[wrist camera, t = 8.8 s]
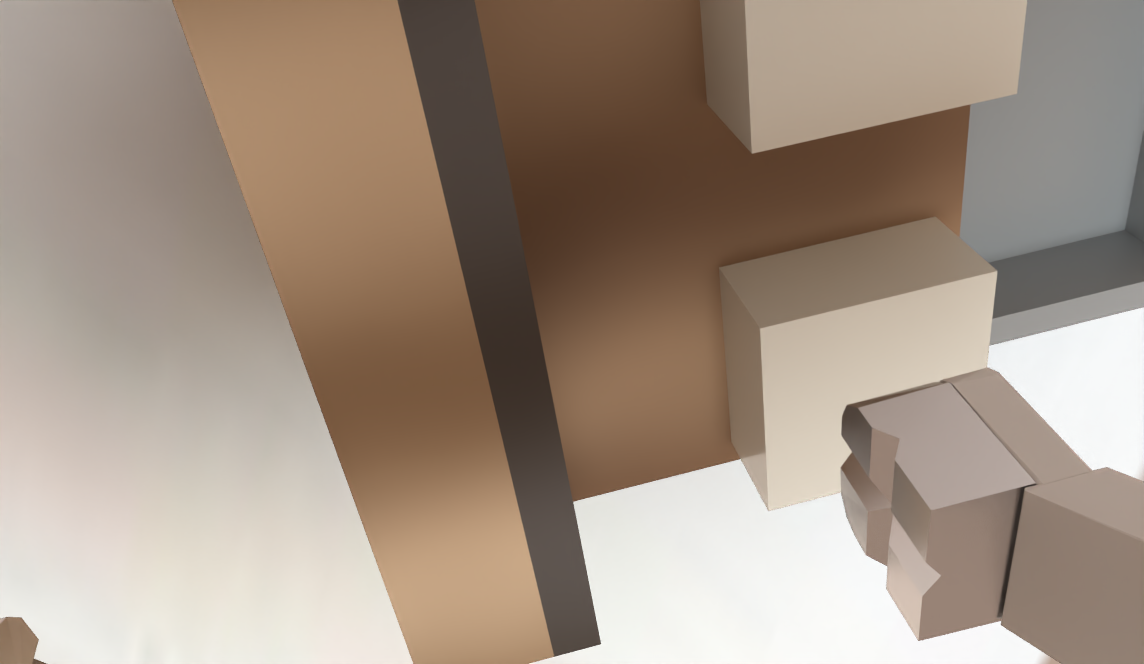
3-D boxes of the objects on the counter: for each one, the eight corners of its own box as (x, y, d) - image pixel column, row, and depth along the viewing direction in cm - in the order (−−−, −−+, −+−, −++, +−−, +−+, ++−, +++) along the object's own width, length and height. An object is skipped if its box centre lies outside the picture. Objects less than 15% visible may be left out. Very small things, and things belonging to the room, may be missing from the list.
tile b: (719, 267, 18) (760, 328, 16) (934, 216, 18) (997, 270, 16) (731, 442, 20) (768, 511, 18) (923, 393, 20) (976, 456, 18)
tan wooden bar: (186, -127, 13) (146, -70, 10) (420, -172, 13) (448, -129, 10) (408, 541, 19) (423, 691, 17) (560, 503, 20) (600, 644, 17)
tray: (870, -287, 17) (946, -283, 15) (1249, -359, 18) (1371, -363, 16) (858, 305, 24) (909, 365, 22) (1133, 239, 24) (1208, 290, 22)
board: (215, -165, 16) (188, -123, 13) (870, -287, 17) (1002, -279, 14) (397, 417, 23) (410, 543, 19) (858, 305, 24) (945, 406, 20)
